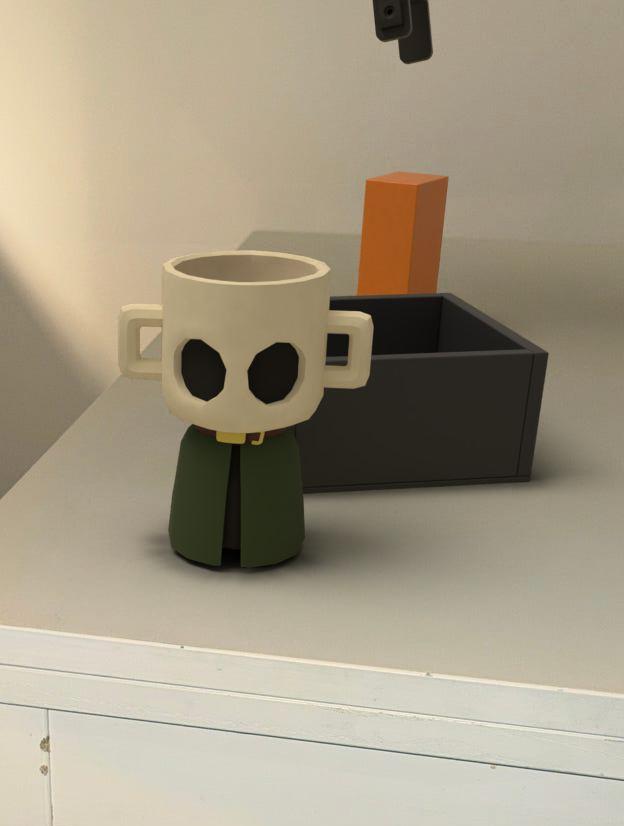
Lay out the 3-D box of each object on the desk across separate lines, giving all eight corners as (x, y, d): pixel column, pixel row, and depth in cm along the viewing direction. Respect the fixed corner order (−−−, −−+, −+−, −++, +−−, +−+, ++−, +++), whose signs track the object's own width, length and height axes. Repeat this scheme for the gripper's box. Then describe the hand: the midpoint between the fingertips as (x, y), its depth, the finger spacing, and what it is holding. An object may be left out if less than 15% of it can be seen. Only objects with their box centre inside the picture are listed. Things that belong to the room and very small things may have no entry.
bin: (438, 409, 80) (451, 292, 77) (529, 486, 68) (549, 352, 65) (221, 418, 78) (224, 299, 75) (276, 500, 66) (283, 362, 63)
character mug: (106, 576, 58) (103, 279, 52) (130, 516, 64) (129, 245, 58) (354, 591, 57) (380, 288, 51) (354, 528, 63) (376, 252, 57)
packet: (384, 323, 99) (397, 171, 94) (432, 331, 97) (449, 176, 92) (353, 336, 96) (365, 179, 91) (402, 345, 94) (418, 184, 89)
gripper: (422, -282, 76) (448, 17, 79) (456, -198, 88) (477, 56, 92) (296, -242, 78) (326, 45, 82) (347, -166, 91) (371, 79, 95)
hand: (406, 50), depth 87 cm, fingers open, 8 cm apart
